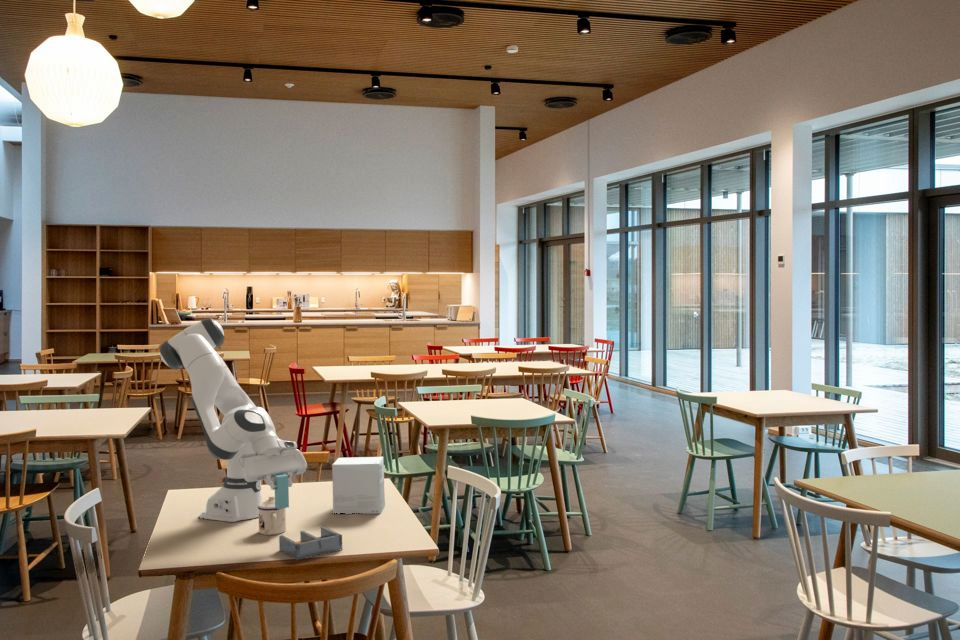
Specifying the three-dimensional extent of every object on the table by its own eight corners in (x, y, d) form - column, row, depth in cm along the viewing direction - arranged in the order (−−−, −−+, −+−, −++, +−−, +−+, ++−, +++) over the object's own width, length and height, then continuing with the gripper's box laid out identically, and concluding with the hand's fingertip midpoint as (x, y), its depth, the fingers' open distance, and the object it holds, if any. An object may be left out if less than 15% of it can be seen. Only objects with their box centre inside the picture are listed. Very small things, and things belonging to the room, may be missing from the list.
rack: (279, 550, 250) (278, 535, 249) (323, 540, 259) (323, 526, 259) (296, 560, 240) (296, 545, 240) (342, 549, 249) (342, 535, 249)
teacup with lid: (257, 529, 272) (256, 494, 272) (284, 526, 275) (284, 492, 275) (260, 539, 261) (259, 503, 260) (289, 536, 264) (288, 500, 264)
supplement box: (385, 504, 302) (384, 456, 301) (380, 514, 289) (380, 463, 288) (339, 505, 302) (338, 456, 302) (332, 514, 289) (331, 464, 288)
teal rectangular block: (275, 507, 255) (274, 475, 255) (285, 505, 257) (284, 474, 257) (278, 509, 253) (277, 477, 253) (288, 507, 255) (288, 475, 255)
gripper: (239, 450, 254) (252, 486, 246) (300, 441, 266) (314, 476, 259) (234, 462, 257) (247, 498, 250) (295, 453, 270) (309, 488, 262)
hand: (282, 487), depth 255 cm, fingers closed on teal rectangular block, 3 cm apart
